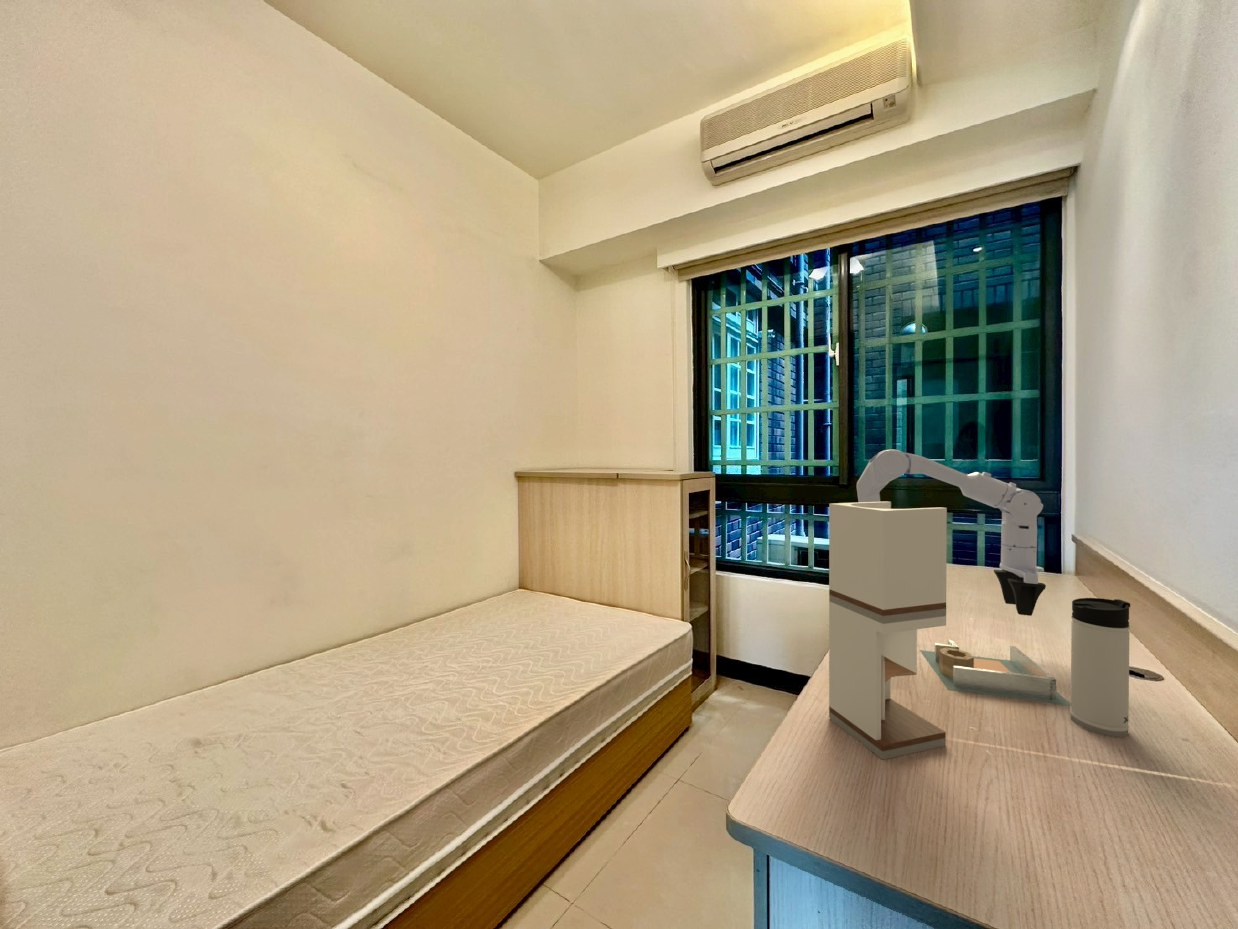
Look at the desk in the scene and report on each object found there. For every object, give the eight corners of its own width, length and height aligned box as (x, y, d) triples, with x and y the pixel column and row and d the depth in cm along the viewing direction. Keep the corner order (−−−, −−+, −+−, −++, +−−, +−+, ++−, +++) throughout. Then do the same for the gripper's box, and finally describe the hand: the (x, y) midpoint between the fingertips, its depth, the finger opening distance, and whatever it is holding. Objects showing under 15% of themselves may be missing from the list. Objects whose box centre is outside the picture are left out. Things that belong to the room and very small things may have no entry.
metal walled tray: (954, 686, 84) (954, 667, 84) (929, 653, 98) (929, 637, 98) (1056, 700, 80) (1056, 679, 80) (1014, 663, 94) (1014, 646, 94)
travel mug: (1143, 741, 68) (1145, 607, 68) (1090, 736, 70) (1092, 605, 69) (1108, 718, 74) (1109, 595, 74) (1060, 714, 76) (1061, 593, 76)
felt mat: (948, 691, 83) (948, 689, 83) (919, 651, 100) (919, 650, 100) (1074, 708, 77) (1074, 706, 77) (1021, 663, 94) (1021, 661, 94)
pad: (975, 671, 90) (975, 669, 90) (964, 658, 96) (964, 657, 96) (1013, 676, 88) (1013, 674, 88) (999, 662, 94) (999, 661, 94)
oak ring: (945, 677, 88) (945, 657, 88) (936, 666, 92) (937, 646, 92) (976, 681, 86) (977, 660, 86) (966, 670, 91) (966, 650, 91)
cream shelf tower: (882, 759, 65) (883, 510, 64) (829, 718, 75) (829, 503, 74) (945, 745, 68) (946, 507, 67) (885, 708, 78) (886, 501, 77)
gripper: (1058, 553, 89) (1057, 623, 90) (1029, 541, 103) (1028, 601, 103) (1012, 550, 92) (1011, 617, 93) (990, 538, 106) (989, 597, 106)
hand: (1017, 609), depth 98 cm, fingers open, 7 cm apart
